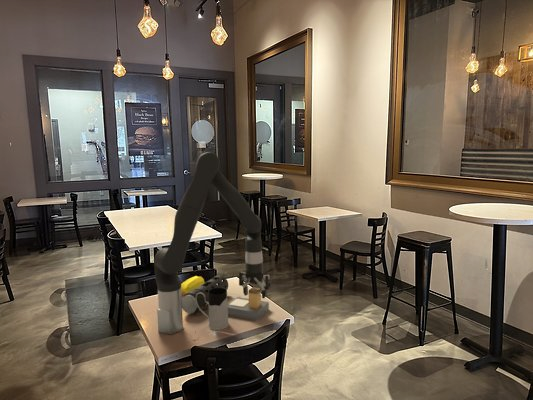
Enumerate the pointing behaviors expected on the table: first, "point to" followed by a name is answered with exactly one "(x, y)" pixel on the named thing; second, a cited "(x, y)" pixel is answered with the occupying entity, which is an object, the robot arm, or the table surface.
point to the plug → (254, 297)
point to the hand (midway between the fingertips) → (255, 296)
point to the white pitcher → (217, 308)
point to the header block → (246, 309)
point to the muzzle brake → (189, 298)
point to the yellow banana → (191, 284)
